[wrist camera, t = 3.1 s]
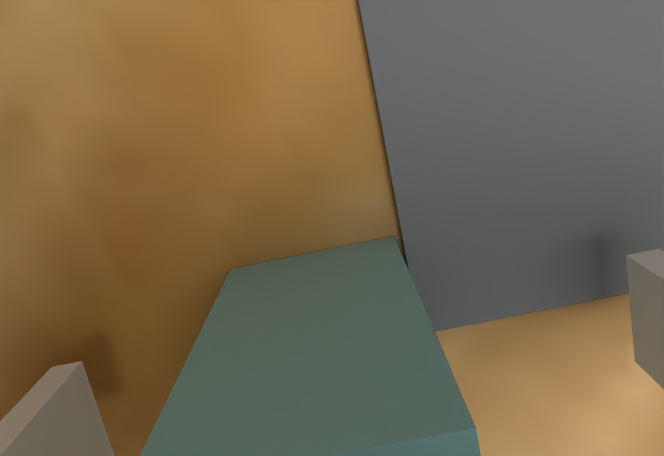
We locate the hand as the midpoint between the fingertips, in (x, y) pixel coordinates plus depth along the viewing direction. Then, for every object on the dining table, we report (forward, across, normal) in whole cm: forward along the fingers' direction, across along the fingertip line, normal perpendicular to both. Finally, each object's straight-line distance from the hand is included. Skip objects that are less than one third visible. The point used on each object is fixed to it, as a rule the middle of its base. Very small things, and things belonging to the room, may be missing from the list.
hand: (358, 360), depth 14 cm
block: (+2, -1, 0) cm, 3 cm away
